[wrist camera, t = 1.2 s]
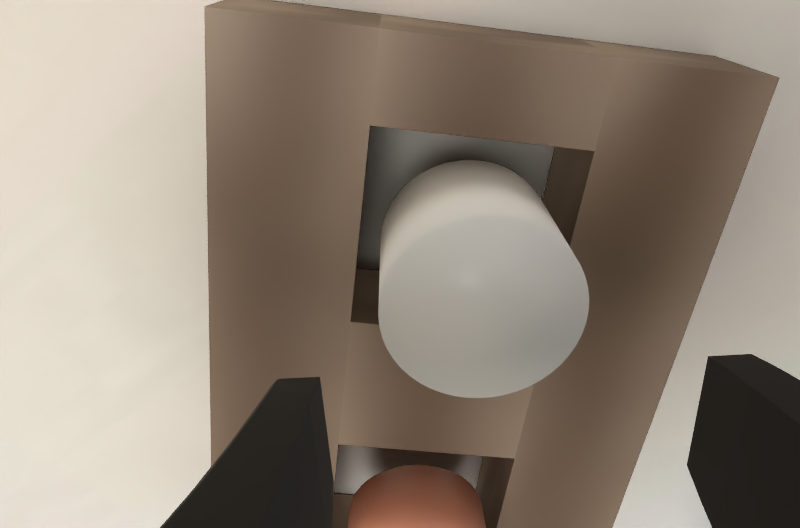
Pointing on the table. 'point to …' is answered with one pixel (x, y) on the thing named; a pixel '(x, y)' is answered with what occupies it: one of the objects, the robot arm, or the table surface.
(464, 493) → the terracotta button
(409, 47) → the brown wooden tray
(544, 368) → the grey button
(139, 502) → the table surface
